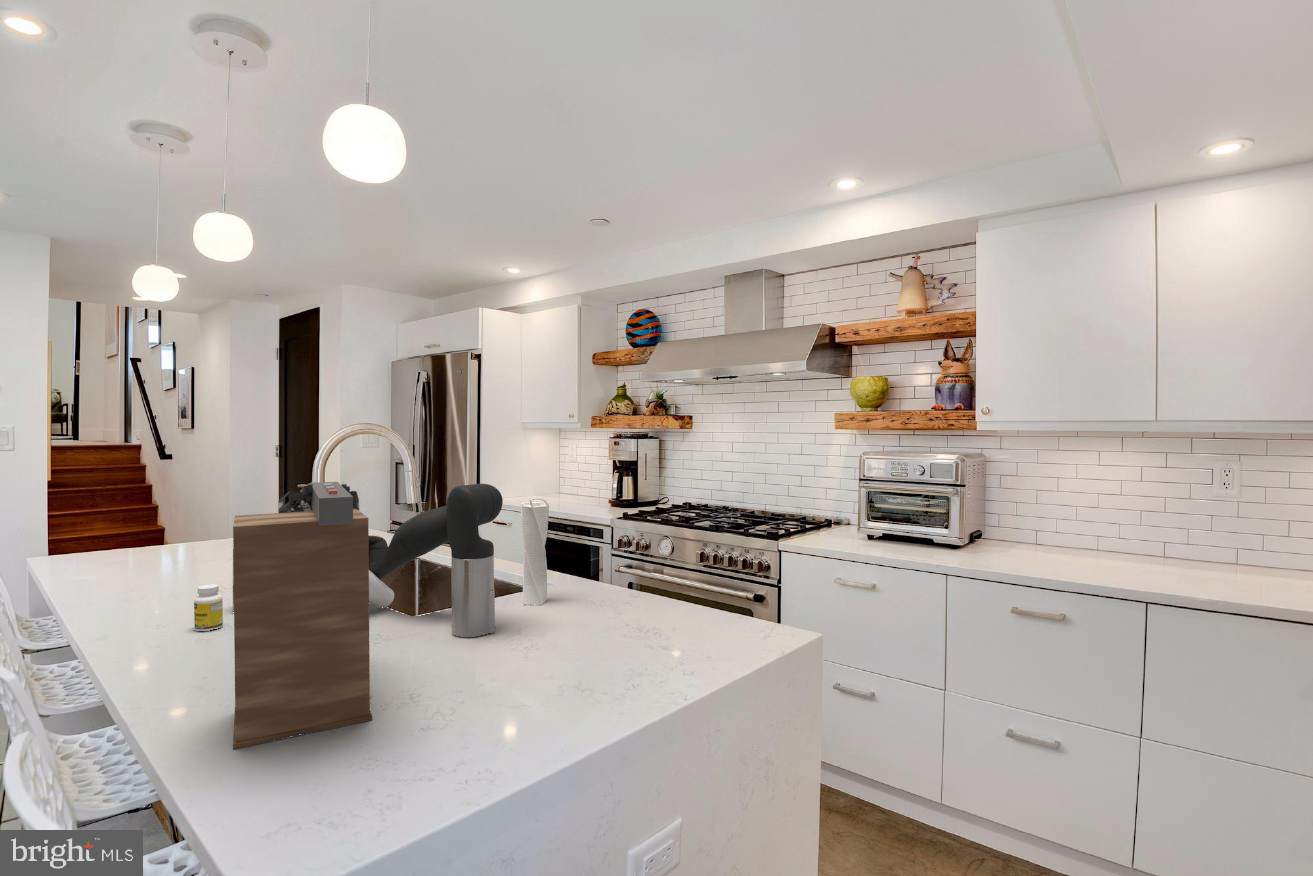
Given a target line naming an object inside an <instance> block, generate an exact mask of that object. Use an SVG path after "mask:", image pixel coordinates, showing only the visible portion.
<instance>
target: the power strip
mask: <svg viewBox="0 0 1313 876" xmlns="http://www.w3.org/2000/svg"><path fill="white" fill-rule="evenodd" d="M311 483H312V484H313V486H312V498H311V507H312V510H313V512H314V514H315V517H316V519H317V522H318V524H319V526H326V525H341V524H353V496H352V495H351V494H349V493H348V492H347V491H346V490H345V489H344V488H343V487H342V486H341V485H342V484H340V483H339V482H338V481H325V482H324V481H321V482H320V481H318V482H317V481H316V482H311Z"/></svg>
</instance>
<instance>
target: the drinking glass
mask: <svg viewBox="0 0 1313 876" xmlns="http://www.w3.org/2000/svg"><path fill="white" fill-rule="evenodd" d="M394 600H395V592H394V590H393V589H392V588H390V587H389V586H388V585H387V584H385V583H384V581H382V580H381V579H379V578H378V577H377V576H375V575H374V574H373V573H372V572H371V571H370V570H369V604H371V605H373V606H375V607H376V608H377V609H385V608H388V607H389V606H390V605H391V604H392V603H393V601H394ZM382 607H383V608H382Z"/></svg>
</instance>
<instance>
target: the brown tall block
mask: <svg viewBox="0 0 1313 876" xmlns="http://www.w3.org/2000/svg"><path fill="white" fill-rule="evenodd" d="M232 536H233V537H232V538H233V539H232V540H233V541H232V542H233V543H232V544H233V545H232V546H233V547H232V559H233V558H234V613H233V620H234V621H233V622H234V624H233V627H234V629H233V631H234V633H233V635H234V637H233V638H234V720H233V722H234V723H233V735H232V736H233V738H232V750H236V748H238V749H242V747H243V748H246V746H248V747H251V746H255V744H257V745H262V744H265V742H266V743H270V741H271V742H274V741H273V740H276V741H280V740H279V739H281V740H283V739H282V738H285V739H288V738H287V737H290V736H295V737H298V736H297V735H299V734H304V735H307V734H306V733H309V734H312V733H311V732H314V733H317V732H316V731H318V732H322V730H323V731H326V730H325V729H328V730H331V729H332V728H333V729H336V728H335V727H337V728H342V727H346V726H345V725H347V726H351V725H356V724H361V723H367V722H369V721H373V714H372V711H371V708H370V707H371V706H370V704H371V702H370V700H371V697H370V695H371V694H370V693H371V691H370V689H371V688H370V687H371V686H370V675H371V674H370V603H369V536H370V534H369V517H368V516H366V515H365V514H364V513H362V512H361V511H360V509H359V510H357V509H353V524H341V525H326V526H319V524H318V522H317V519H316V517H315V514H314V512H313V511H306V512H294V511H290V512H287V513H278V512H276V513H274V512H273V513H259V514H258V513H257V514H243V515H234V520H233V526H232ZM290 738H291V737H290ZM261 743H262V744H261Z"/></svg>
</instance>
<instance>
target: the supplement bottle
mask: <svg viewBox="0 0 1313 876" xmlns="http://www.w3.org/2000/svg"><path fill="white" fill-rule="evenodd" d="M219 588H220V587H219V584H213V583H212V584H204V585H203V584H202V585H200V586H198V587H197V595H198V596H196V597H195V598H194V601H193V607H194V611H193V613H194V614H193V615H194V630H195V631H196V632H198V631H208V632H211V631H210V630H213V629H217V630H219V629H218V628H220V627H221V628H223V625H224V621H223V620H224V617H223V615H224V614H223V613H224V612H223V610H224V608H223V604H224V603H223V595H222V594H221V593H219V590H220V589H219ZM221 628H220V629H221Z"/></svg>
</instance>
